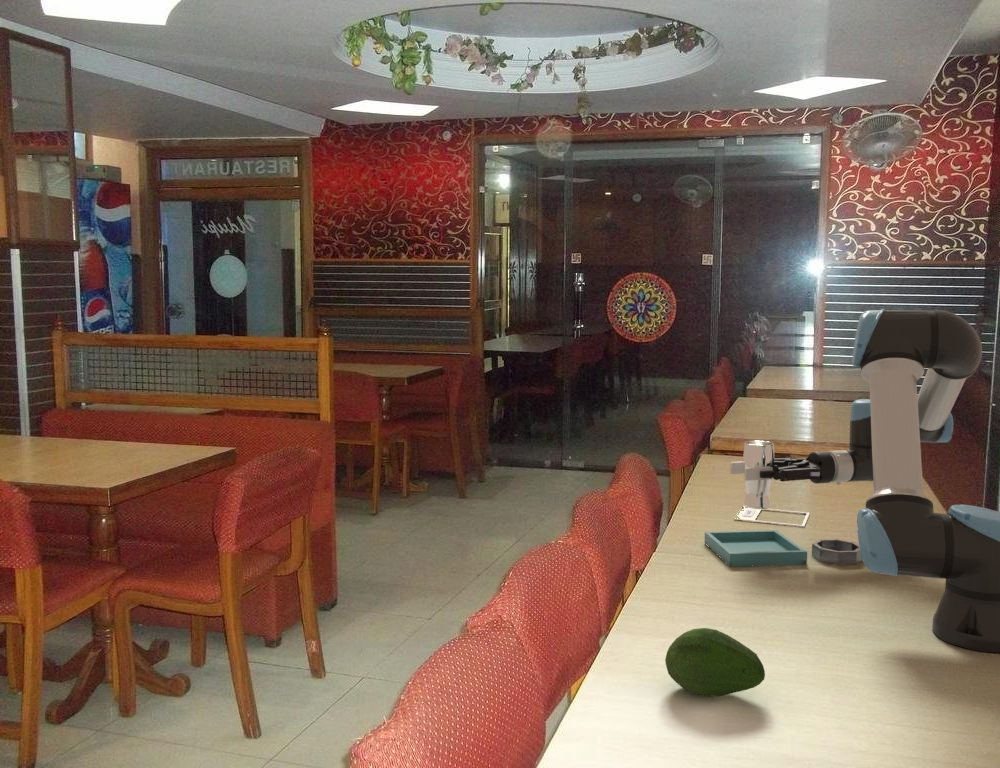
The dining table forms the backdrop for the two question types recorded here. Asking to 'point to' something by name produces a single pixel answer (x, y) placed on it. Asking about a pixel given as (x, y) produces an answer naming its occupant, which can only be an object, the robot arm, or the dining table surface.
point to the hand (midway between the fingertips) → (738, 471)
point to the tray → (755, 548)
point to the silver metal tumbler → (758, 457)
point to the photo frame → (752, 514)
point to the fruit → (712, 663)
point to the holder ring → (836, 552)
